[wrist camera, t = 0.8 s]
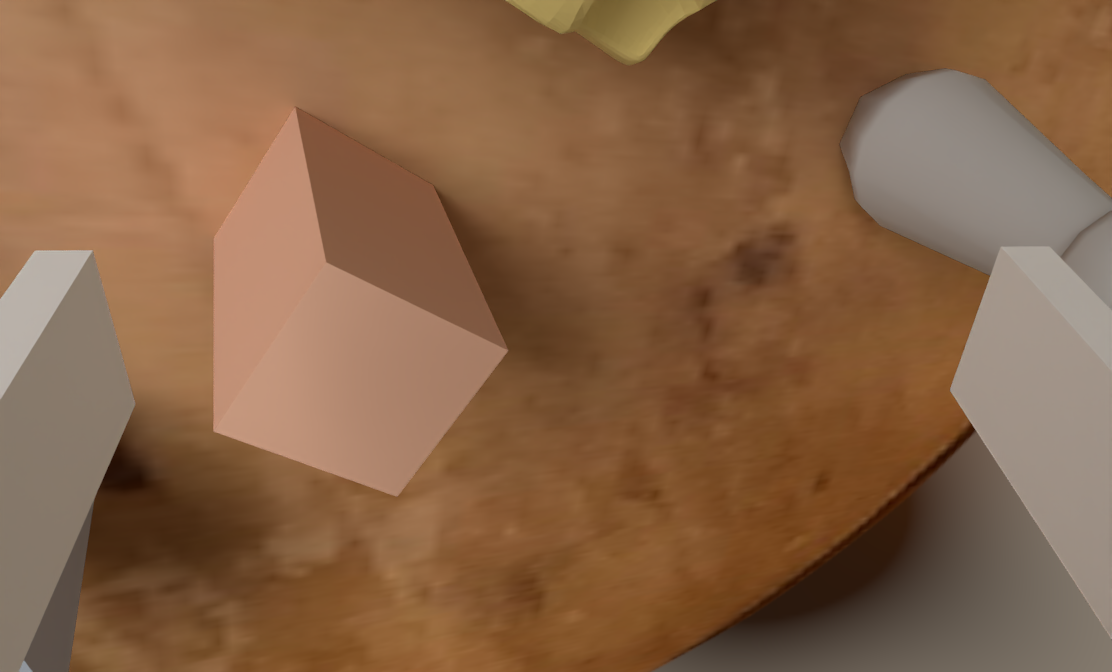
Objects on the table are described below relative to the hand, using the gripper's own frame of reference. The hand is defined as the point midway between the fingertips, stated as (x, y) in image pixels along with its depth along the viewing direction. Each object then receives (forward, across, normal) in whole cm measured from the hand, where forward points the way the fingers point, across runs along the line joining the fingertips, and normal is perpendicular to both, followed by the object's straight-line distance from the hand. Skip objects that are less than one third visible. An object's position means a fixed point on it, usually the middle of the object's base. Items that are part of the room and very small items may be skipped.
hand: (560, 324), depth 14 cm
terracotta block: (+16, -6, -7) cm, 18 cm away
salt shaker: (+20, +14, -6) cm, 25 cm away
